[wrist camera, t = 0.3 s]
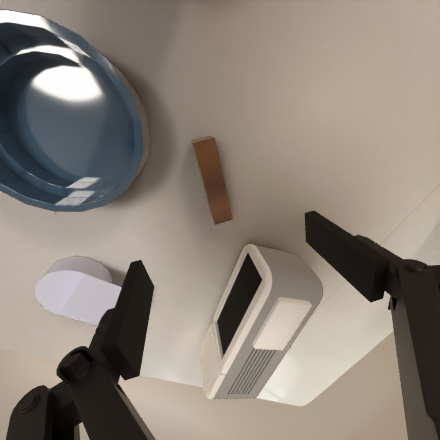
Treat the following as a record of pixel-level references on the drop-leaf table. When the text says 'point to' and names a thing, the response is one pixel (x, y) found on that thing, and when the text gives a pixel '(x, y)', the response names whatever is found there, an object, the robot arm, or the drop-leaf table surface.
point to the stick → (212, 178)
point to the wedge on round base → (77, 289)
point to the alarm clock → (257, 321)
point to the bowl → (64, 118)
